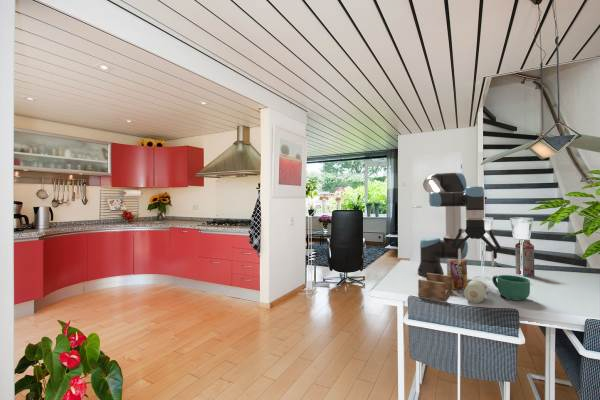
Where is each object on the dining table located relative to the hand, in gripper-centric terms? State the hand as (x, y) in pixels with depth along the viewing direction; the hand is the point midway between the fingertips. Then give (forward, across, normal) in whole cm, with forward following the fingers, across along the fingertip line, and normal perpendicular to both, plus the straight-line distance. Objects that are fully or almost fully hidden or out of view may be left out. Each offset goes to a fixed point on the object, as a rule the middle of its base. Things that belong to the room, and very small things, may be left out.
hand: (475, 263), depth 139 cm
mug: (+17, +12, +14) cm, 26 cm away
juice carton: (+17, +18, +72) cm, 76 cm away
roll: (+17, 0, 0) cm, 17 cm away
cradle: (+17, -18, -2) cm, 24 cm away
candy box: (+17, -11, +15) cm, 25 cm away
